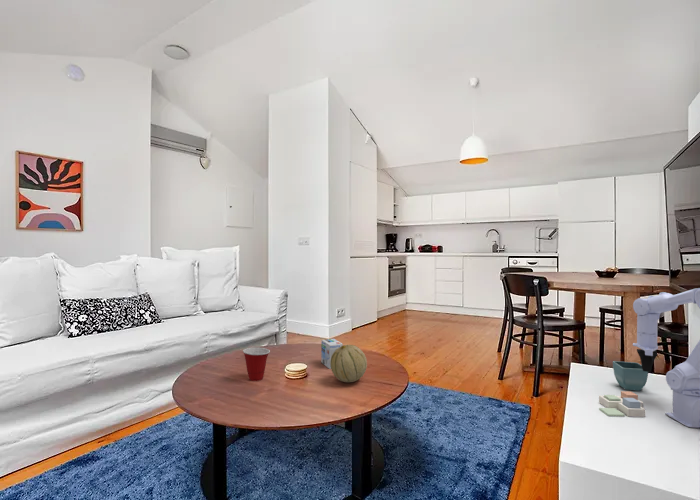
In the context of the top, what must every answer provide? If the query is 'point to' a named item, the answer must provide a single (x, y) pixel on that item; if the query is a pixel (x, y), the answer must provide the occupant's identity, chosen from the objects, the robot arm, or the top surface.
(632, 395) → the orange-brown cube
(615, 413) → the sage swatch
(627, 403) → the blue-grey cube
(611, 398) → the sage button
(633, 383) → the flower pot
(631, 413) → the side socket
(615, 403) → the button strip
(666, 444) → the top surface
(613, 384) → the top surface
